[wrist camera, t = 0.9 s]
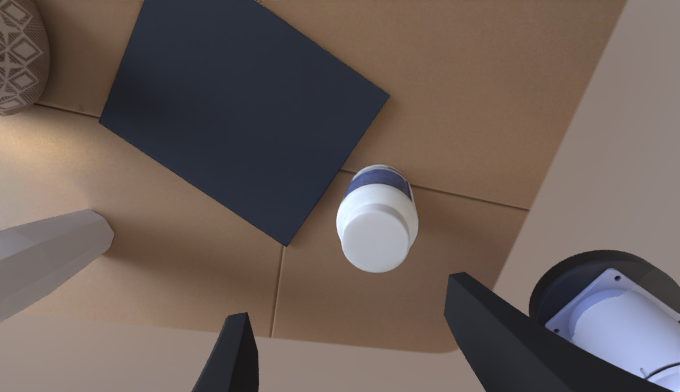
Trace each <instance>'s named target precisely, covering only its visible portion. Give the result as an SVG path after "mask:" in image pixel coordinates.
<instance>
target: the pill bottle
mask: <svg viewBox="0 0 680 392" xmlns="http://www.w3.org/2000/svg"><path fill="white" fill-rule="evenodd" d="M337 231H338V234H339V237H340V239H341V243H342V249H343V252H344V254H345V256H346V257H347V259H348V260H349V261H350V262H351V263H352V264H353V265H354V266H356V267H357V268H359V269H361V270H364V271H367V272H371V273H382V272H387V271H390V270H392V269H394V268H396V267H397V266H398V265H400V264H401V263H402V262H403V261H404V259H405V258H406V256H407V254H408V251H409V248H410V247H411V246H412V244H413V242H414V240H415V238H416V236H417V232H418V216H417V211H416V207H415V203H414V199H413V193H412V190H411V187H410V184H409V182H408V180H407V179H406V177H405V176H404V175H403V174H402V173H401V172H400V171H399V170H397V169H396V168H394V167H391V166H388V165H372V166H368V167H366V168H364V169H362V170H361V171H359V172H358V173H357V174H356V175H355V176H354V178H353V179H352V180H351V182H350V184H349V187H348V189H347V191H346V194H345V196H344V198H343V201H342V203H341V205H340V208H339V211H338V214H337Z"/></svg>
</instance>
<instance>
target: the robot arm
mask: <svg viewBox="0 0 680 392" xmlns="http://www.w3.org/2000/svg"><path fill="white" fill-rule="evenodd" d="M616 276H618V278H616V279H615V277H616ZM444 316H445V318H446V320H447V323H448V325H449V327H450V330H451V332H452V334H453V336H454V338H455V340H456V342H457V344H458V346H459V347H460V349H461V351H462V352H463V354H464V356H465V358H466V359H467V361H468V362H469V364H470V366H471V368H472V369H473V371H474V372H475V374H476V376H477V377H478V379H479V381H480V382H481V384H482V385H483V387H484V389H485V391H486V392H680V322H678V321H680V314H679V313H677V312H676V311H674V310H673V309H672V308H670V307H669V306H667V305H666V304H664V303H663V302H662V301H660V300H659V299H657V298H656V297H655V296H653V295H652V294H650V293H649V292H647V291H646V290H645V289H643V288H642V287H640V286H639V285H637V284H636V283H635V282H633V281H632V280H630V279H629V278H627V277H626V276H625V275H623V274H622V273H620V272H619V271H617V270H616V269H614V268H609V269H607V270H606V271H605V272H604V273H602V274H601V275H600V276H599V277H598V278H597V279H596V280H594V281H593V282H592V283H591V284H590V285H589V286H588V287H587V288H585V289H584V290H583V291H582V292H581V293H580V294H579V295H577V296H576V297H575V298H574V299H573V300H572V301H571V302H570V303H568V304H567V305H566V306H565V307H564V308H563V309H562V310H560V311H559V312H558V313H557V314H556V315H555V316H554V317H553V318H551V319H550V320H549V321H548V322H547V323H546V324H545V327H544V326H542V325H541V324H539V323H537V322H536V321H534V320H533V319H531V318H530V317H528V316H526V315H525V314H524V313H522V312H521V311H519V310H518V309H516V308H515V307H513V306H512V305H510V304H509V303H508V302H506V301H505V300H503V299H502V298H500V297H499V296H497V295H496V294H495V293H493V292H492V291H491V290H489V289H488V288H487V287H485V286H484V285H482V284H481V283H480V282H478V281H477V280H476V279H474V278H473V277H471V276H470V275H469V274H467V273H466V272H461V273H456V274H450V275H449V279H448V287H447V295H446V303H445V311H444ZM555 329H557V330H556V331H554V330H555ZM258 388H259V368H258V350H257V346H256V343H255V339H254V335H253V331H252V328H251V324H250V320H249V316H248V313H247V312H244V313H239V314H234V315H229V316H228V317H227V318H226V320H225V322H224V325H223V327H222V330H221V332H220V335H219V337H218V339H217V342H216V344H215V346H214V348H213V350H212V353H211V355H210V357H209V359H208V361H207V363H206V365H205V367H204V369H203V371H202V373H201V375H200V377H199V379H198V381H197V383H196V384H195V386H194V388H193V390H192V392H258Z"/></svg>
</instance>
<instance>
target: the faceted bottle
mask: <svg viewBox="0 0 680 392" xmlns="http://www.w3.org/2000/svg"><path fill="white" fill-rule="evenodd" d="M113 237H114V232H113V231H112V229H111V227H110V226H109V224H108V222H107V221H106V219H105V218H104V217H102V216H100V215H99V214H97V213H95V212H93V211H92V210H90V209H85V210H81V211H77V212H73V213H68V214H64V215H60V216H56V217H52V218H48V219H44V220H40V221H36V222H32V223H28V224H23V225H19V226H15V227H11V228H8V229H5V230H2V231H0V323H1V322H3V321H4V320H6V319H8V318H9V317H11V316H13V315H15V314H16V313H18V312H20V311H21V310H23V309H25V308H26V307H28V306H30V305H31V304H33V303H35V302H36V301H38V300H40V299H41V298H43V297H45V296H46V295H48V294H50V293H51V292H52V291H54V290H55V289H56V288H58V287H59V286H60V285H62V284H63V283H64V282H66V281H67V280H68V279H70V278H71V277H72V276H74V275H75V274H76V273H78V272H79V271H80V270H82V269H83V268H84V267H86V266H87V265H88V264H89V263H91V262H92V261H93V260H95V259H96V258H97V257H99V256H100V255H101V254H103V253H104V252H105V251H107V250H108V249H109V248H110V246H111V243H112V240H113Z"/></svg>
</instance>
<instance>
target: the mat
mask: <svg viewBox="0 0 680 392" xmlns="http://www.w3.org/2000/svg"><path fill="white" fill-rule="evenodd" d="M388 98H389V95H388V94H387V93H385V92H384V91H383V90H381V89H380V88H378V87H377V86H375V85H374V84H373V83H371V82H370V81H368V80H367V79H365V78H364V77H363V76H361V75H360V74H358V73H357V72H356V71H354V70H353V69H351V68H350V67H348V66H347V65H346V64H344V63H343V62H341V61H340V60H338V59H337V58H336V57H334V56H333V55H331V54H330V53H329V52H327V51H326V50H324V49H323V48H321V47H320V46H319V45H317V44H316V43H314V42H313V41H311V40H310V39H309V38H307V37H306V36H304V35H303V34H302V33H300V32H299V31H297V30H296V29H294V28H293V27H292V26H290V25H289V24H287V23H286V22H284V21H283V20H282V19H280V18H279V17H277V16H276V15H275V14H273V13H272V12H270V11H269V10H267V9H266V8H265V7H263V6H262V5H260V4H259V3H257V2H256V1H255V0H144V3H143V5H142V8H141V11H140V13H139V16H138V19H137V21H136V24H135V27H134V29H133V32H132V35H131V37H130V40H129V43H128V45H127V48H126V51H125V53H124V56H123V59H122V61H121V64H120V67H119V69H118V72H117V75H116V77H115V80H114V83H113V85H112V88H111V91H110V93H109V96H108V99H107V101H106V104H105V107H104V109H103V112H102V115H101V117H100V120H99V123H100V124H101V125H103V126H104V127H106V128H108V129H109V130H111V131H112V132H114V133H115V134H117V135H118V136H120V137H121V138H123V139H124V140H126V141H127V142H129V143H130V144H132V145H133V146H135V147H136V148H138V149H139V150H141V151H142V152H144V153H145V154H147V155H148V156H150V157H151V158H153V159H154V160H156V161H157V162H159V163H160V164H162V165H163V166H165V167H166V168H168V169H169V170H171V171H172V172H174V173H175V174H177V175H178V176H180V177H181V178H183V179H184V180H186V181H187V182H189V183H190V184H192V185H193V186H195V187H196V188H198V189H199V190H201V191H202V192H204V193H206V194H207V195H209V196H210V197H212V198H213V199H215V200H216V201H218V202H219V203H221V204H222V205H224V206H225V207H227V208H228V209H230V210H231V211H233V212H234V213H236V214H237V215H239V216H240V217H242V218H243V219H245V220H246V221H248V222H249V223H251V224H252V225H254V226H255V227H257V228H258V229H260V230H261V231H263V232H264V233H266V234H267V235H269V236H270V237H272V238H273V239H275V240H276V241H278V242H279V243H281V244H282V245H284V246H285V247H287V246H288V244H289V243H290V241H291V240H292V238H293V237H294V235H295V234H296V233H297V231H298V230H299V228H300V227H301V225H302V224H303V222H304V221H305V219H306V218H307V216H308V215H309V213H310V212H311V211H312V209H313V208H314V206H315V205H316V203H317V202H318V200H319V199H320V197H321V196H322V194H323V193H324V191H325V190H326V189H327V187H328V186H329V184H330V183H331V181H332V180H333V178H334V177H335V175H336V174H337V172H338V171H339V169H340V168H341V167H342V165H343V164H344V162H345V161H346V159H347V158H348V156H349V155H350V153H351V152H352V150H353V149H354V147H355V146H356V145H357V143H358V142H359V140H360V139H361V137H362V136H363V134H364V133H365V131H366V130H367V128H368V127H369V125H370V124H371V123H372V121H373V120H374V118H375V117H376V115H377V114H378V112H379V111H380V109H381V108H382V106H383V105H384V103H385V102H386V101H387V99H388Z"/></svg>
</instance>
